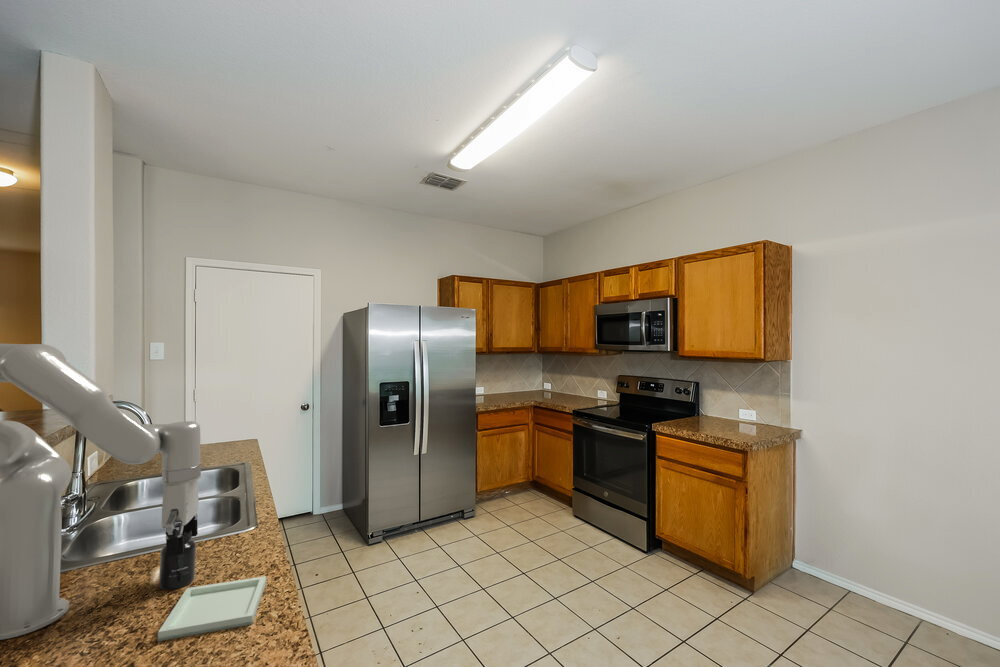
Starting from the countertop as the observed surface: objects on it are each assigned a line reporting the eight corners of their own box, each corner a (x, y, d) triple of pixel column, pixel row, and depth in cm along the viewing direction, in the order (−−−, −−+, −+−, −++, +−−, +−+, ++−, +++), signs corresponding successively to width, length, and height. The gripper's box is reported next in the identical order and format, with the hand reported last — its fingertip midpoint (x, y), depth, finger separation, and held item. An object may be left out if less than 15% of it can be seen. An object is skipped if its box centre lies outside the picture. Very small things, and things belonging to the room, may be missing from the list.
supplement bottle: (175, 593, 99) (177, 540, 100) (151, 589, 101) (153, 537, 101) (201, 577, 106) (203, 527, 107) (178, 574, 108) (180, 525, 108)
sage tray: (157, 641, 83) (158, 632, 83) (186, 596, 98) (187, 588, 98) (252, 624, 88) (252, 615, 89) (266, 583, 104) (266, 576, 104)
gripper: (176, 466, 111) (177, 532, 111) (147, 487, 95) (148, 565, 95) (210, 462, 114) (211, 528, 114) (187, 483, 98) (188, 559, 97)
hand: (182, 545), depth 104 cm, fingers open, 9 cm apart
